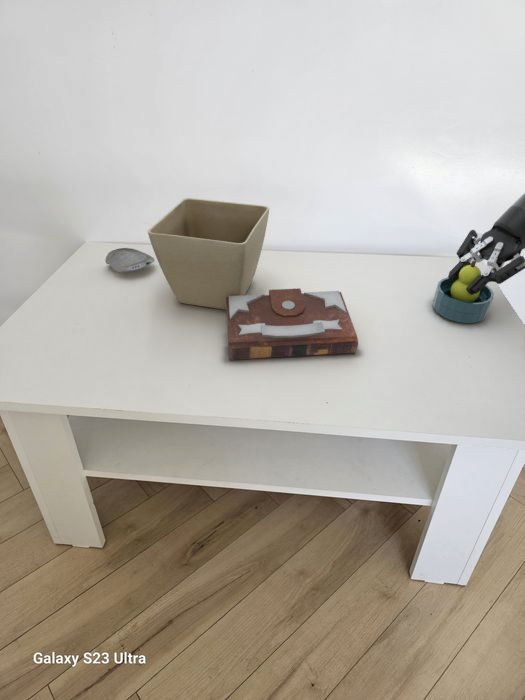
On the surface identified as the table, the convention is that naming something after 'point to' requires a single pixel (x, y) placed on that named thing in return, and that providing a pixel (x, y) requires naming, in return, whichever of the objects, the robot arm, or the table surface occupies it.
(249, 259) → the flower pot
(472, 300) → the pear
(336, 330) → the book
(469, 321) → the bowl
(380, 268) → the table surface
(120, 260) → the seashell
